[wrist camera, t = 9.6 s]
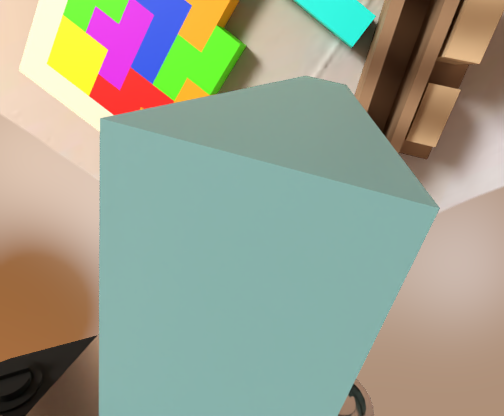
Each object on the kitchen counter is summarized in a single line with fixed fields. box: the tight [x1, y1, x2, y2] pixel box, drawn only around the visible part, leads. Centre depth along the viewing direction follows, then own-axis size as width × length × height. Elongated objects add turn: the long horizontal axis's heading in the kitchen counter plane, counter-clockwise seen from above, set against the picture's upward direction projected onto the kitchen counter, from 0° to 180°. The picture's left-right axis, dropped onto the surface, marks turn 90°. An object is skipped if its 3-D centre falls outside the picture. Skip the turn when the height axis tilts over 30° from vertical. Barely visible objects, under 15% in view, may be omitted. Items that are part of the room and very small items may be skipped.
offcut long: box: [436, 0, 504, 65], centre depth 27 cm, size 6×3×6 cm, turn 168°
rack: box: [355, 0, 469, 159], centre depth 30 cm, size 16×9×6 cm, turn 168°
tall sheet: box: [99, 76, 440, 416], centre depth 12 cm, size 12×2×16 cm, turn 168°
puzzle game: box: [19, 0, 376, 132], centre depth 35 cm, size 30×3×30 cm
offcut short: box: [405, 83, 461, 147], centre depth 31 cm, size 5×3×4 cm, turn 168°
